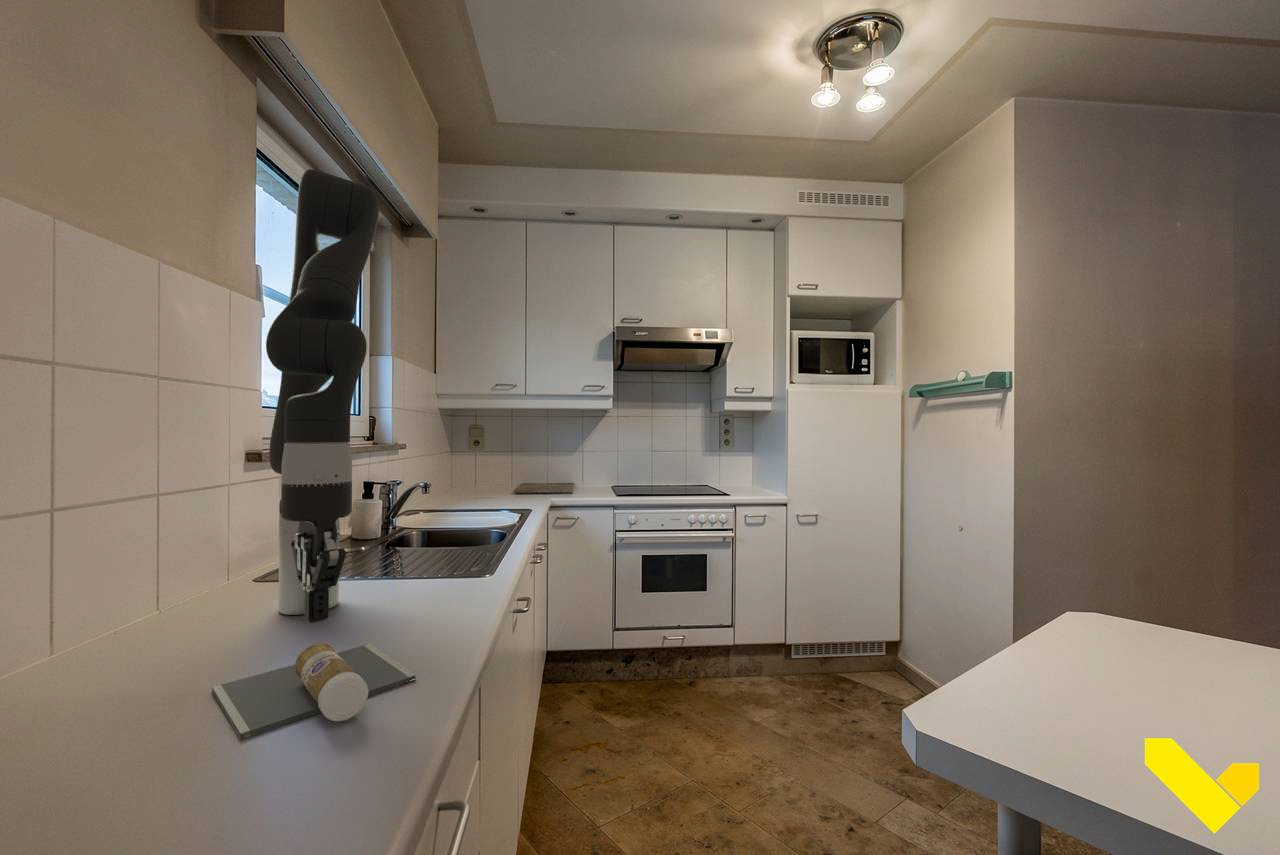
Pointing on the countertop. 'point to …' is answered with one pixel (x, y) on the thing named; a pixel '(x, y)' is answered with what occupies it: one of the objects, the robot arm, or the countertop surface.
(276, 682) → the mat
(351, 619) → the countertop surface
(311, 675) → the sprinkles bottle
